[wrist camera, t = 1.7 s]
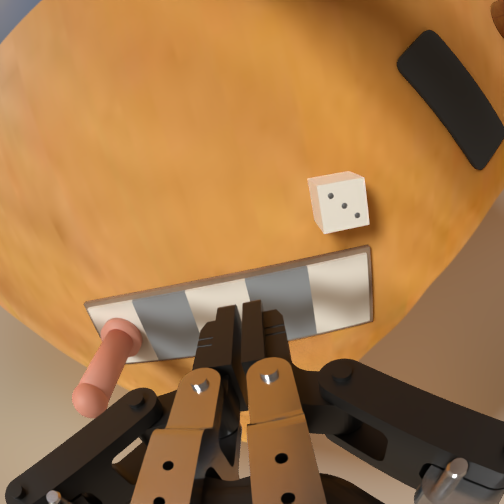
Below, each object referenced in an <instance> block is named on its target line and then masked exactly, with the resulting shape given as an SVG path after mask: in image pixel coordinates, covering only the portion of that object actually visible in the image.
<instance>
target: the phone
mask: <svg viewBox="0 0 504 504" xmlns="http://www.w3.org/2000/svg"><path fill="white" fill-rule="evenodd" d="M397 68H398V70H399V72H400V73H401V74H402V75H403V77H404V78H405V79H406V80H407V81H408V82H409V83H410V84H411V85H412V87H413V88H414V89H415V90H416V91H417V92H418V94H419V95H420V96H421V97H422V98H423V99H424V101H425V102H426V103H427V104H428V105H429V107H430V108H431V109H432V110H433V112H434V113H435V114H436V116H437V117H438V118H439V119H440V121H441V122H442V123H443V125H444V126H445V127H446V129H447V130H448V131H449V133H450V134H451V136H452V137H453V138H454V140H455V141H456V143H457V144H458V146H459V147H460V148H461V150H462V151H463V153H464V154H465V156H466V157H467V159H468V160H469V162H470V163H471V165H472V166H473V167H474V168H475V169H478V170H481V169H483V168H484V167H485V166H486V164H487V163H488V162H489V160H490V159H491V157H492V156H493V154H494V153H495V151H496V150H497V148H498V147H499V145H500V144H501V142H502V140H503V139H504V126H503V124H502V122H501V121H500V119H499V117H498V116H497V114H496V112H495V111H494V109H493V108H492V106H491V104H490V103H489V101H488V100H487V98H486V97H485V95H484V94H483V92H482V91H481V89H480V88H479V86H478V85H477V83H476V82H475V81H474V79H473V78H472V76H471V75H470V74H469V72H468V71H467V70H466V68H465V67H464V66H463V64H462V63H461V62H460V61H459V59H458V58H457V57H456V56H455V54H454V53H453V52H452V51H451V50H450V48H449V47H448V46H447V45H446V44H445V42H444V41H443V40H442V39H441V38H440V37H439V36H438V35H437V34H436V33H435V32H434V31H432V30H426V31H424V32H423V33H422V34H421V35H420V36H419V37H418V38H417V39H416V40H415V41H414V42H413V43H412V44H411V45H410V47H409V48H408V49H407V50H406V51H405V52H404V53H403V54H402V55H401V56H400V57H399V59H398V61H397Z"/></svg>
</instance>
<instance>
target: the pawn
mask: <svg viewBox="0 0 504 504" xmlns="http://www.w3.org/2000/svg"><path fill="white" fill-rule="evenodd" d="M101 339H102V344H101V345H100V347H99V349H98V350H97V352H96V354H95V356H94V357H93V359H92V361H91V363H90V364H89V366H88V368H87V370H86V372H85V373H84V375H83V377H82V379H81V380H80V382H79V384H78V386H77V387H76V388H75V389H74V391H73V394H72V401H73V404H74V407H75V409H76V410H77V411H78V412H79V413H80V414H81V415H83V416H85V417H87V418H96V417H98V416H99V415H100V414H101V413H103V412H104V411H105V410H107V407H108V402H109V400H110V397H111V395H112V393H113V390H114V388H115V386H116V383H117V381H118V379H119V377H120V374H121V372H122V370H123V368H124V365H125V363H126V361H127V359H128V357H132V356H135V355H136V354H137V353H138V352H139V350H140V348H141V345H142V341H143V339H142V335H141V333H140V331H139V329H138V328H137V327H136V326H135V325H134V324H133V323H131V322H130V321H128V320H125V319H122V318H112V319H110V320H108V321H107V322H106V323H105V325H104V326H103V328H102V330H101Z"/></svg>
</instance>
